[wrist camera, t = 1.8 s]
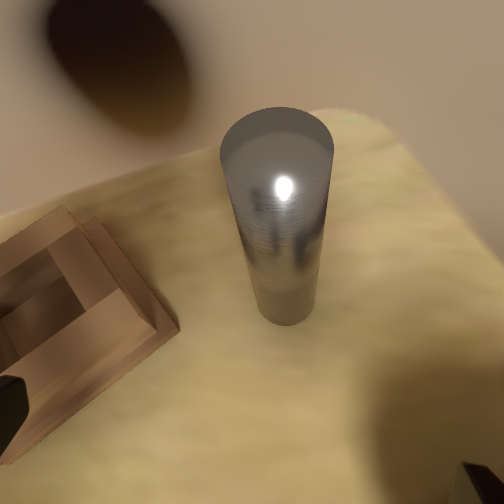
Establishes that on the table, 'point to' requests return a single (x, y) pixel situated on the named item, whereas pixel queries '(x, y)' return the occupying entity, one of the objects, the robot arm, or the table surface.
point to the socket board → (71, 319)
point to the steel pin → (280, 204)
